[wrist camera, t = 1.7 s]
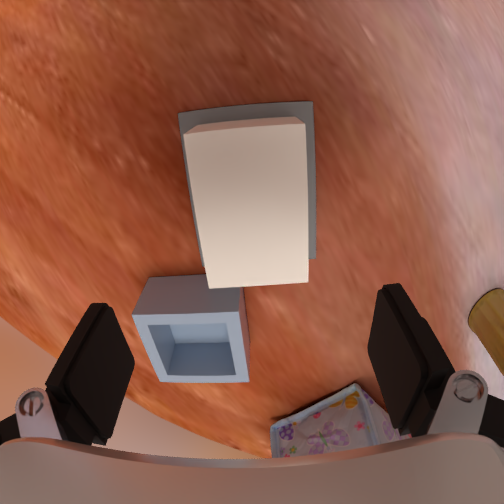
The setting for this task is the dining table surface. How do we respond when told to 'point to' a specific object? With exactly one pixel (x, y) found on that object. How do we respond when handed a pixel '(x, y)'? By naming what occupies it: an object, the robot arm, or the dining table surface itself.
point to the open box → (194, 330)
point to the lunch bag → (334, 426)
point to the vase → (490, 324)
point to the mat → (257, 111)
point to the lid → (250, 200)
